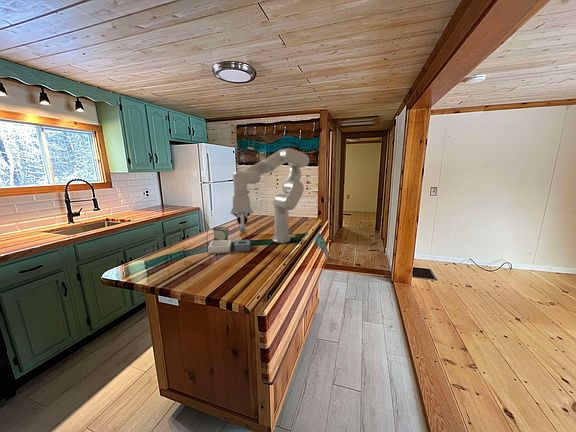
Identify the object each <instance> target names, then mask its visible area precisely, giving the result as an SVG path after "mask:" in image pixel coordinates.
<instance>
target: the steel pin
mask: <svg viewBox="0 0 576 432" xmlns="http://www.w3.org/2000/svg"><path fill="white" fill-rule="evenodd" d="M239 217H240V224H239V230H240V233H246V232H247V231H246V230H247V229H246V224H245V212H243V213H239Z"/></svg>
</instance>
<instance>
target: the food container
mask: <svg viewBox="0 0 576 432" xmlns="http://www.w3.org/2000/svg"><path fill="white" fill-rule="evenodd" d="M212 232H213V237H214V241H218V240H229V238H228V237H229V232H230V229H229V228H228V227H226V226H216V227H215V226H214V227H212Z"/></svg>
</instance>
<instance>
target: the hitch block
mask: <svg viewBox="0 0 576 432" xmlns="http://www.w3.org/2000/svg"><path fill="white" fill-rule="evenodd" d="M250 241H251V240H250V239H240V240H239V239H237V240H234V244H233V246H234V252H236V253H237V252H249V251H251V242H250Z"/></svg>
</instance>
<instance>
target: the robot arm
mask: <svg viewBox="0 0 576 432" xmlns="http://www.w3.org/2000/svg"><path fill="white" fill-rule="evenodd" d="M285 163H286V164H287V163H288V164H287V165H288V167H289V172H288V175H287V176H286V179H285V181H284V183H283V184H282V186H281V191H282V192H283V193H278V194H276V195H275V196H274V197H273V199H272V204H273V210H274V212H273V213H274V236H273V237H272V242H274V243H281V244H284V243H289V242H290V241H291V239H292V238H296V234H293V233H292V234H291V233H289V219H290V217H289V216H290V215H289V211H293V210H294V209H295V208H296V206H297V205H298V203H299V201H300V200H301V197H302V196H303V195H304V194H303V193H304V190H305V187H304V184H303V182H302V181H300V180H301V178H302V170H301V168H305V167H308V166H309V163H310V158H309V156H308V154H306V153H304V152H301V151H298V150H296V149H292V148H282V149H278V150H277V151H275V152H274V153H273V154H271V155H270V156H268V157H266V158H265V159H263V160H261V161H259V162H257V163H255V164H252V165H251V166H250V167H248V168H246V169H245V170H244V171H233V174H232V179H233V191H234V192H233V197H232V209H231V210H230V214H231V215H232V216H234V217H236V221H237V224H238V225H240V217H239V213H243V212H245V225H247V223H248V217H249V216H250V215H251V214H253V213H254V210H253V209H252V207H251V200H250V195H249V194H250V193H251V191H250V190H248V184H249V185H253V184H254V185H256V184H258V183H260V181H261V179H262V177H261V176H262V175H264V174H269V173H271V172H274V171H276V170H277V169H278V168H279V167H281V166H282V165H284V164H285Z"/></svg>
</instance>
